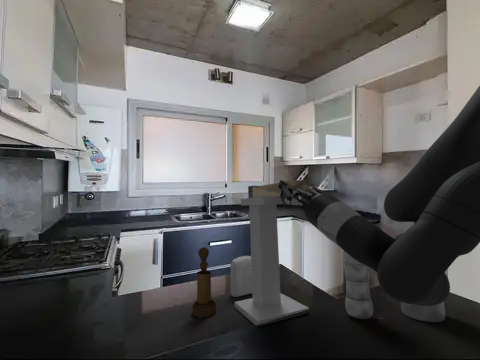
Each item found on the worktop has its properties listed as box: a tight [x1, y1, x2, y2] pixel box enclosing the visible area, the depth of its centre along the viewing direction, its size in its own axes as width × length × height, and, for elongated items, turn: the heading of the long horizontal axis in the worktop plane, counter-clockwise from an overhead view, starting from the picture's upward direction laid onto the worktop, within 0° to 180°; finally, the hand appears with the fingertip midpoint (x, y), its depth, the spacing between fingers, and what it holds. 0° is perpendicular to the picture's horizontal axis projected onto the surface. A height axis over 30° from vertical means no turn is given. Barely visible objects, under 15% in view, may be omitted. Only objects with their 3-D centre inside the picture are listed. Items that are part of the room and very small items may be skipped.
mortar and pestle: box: [192, 247, 217, 318], centre depth 71 cm, size 7×6×18 cm
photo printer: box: [230, 255, 252, 298], centre depth 85 cm, size 10×4×12 cm, turn 124°
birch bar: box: [247, 179, 308, 198], centre depth 70 cm, size 4×23×4 cm, turn 25°
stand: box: [234, 197, 310, 326], centre depth 72 cm, size 16×14×32 cm
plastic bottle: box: [341, 251, 374, 320], centre depth 65 cm, size 6×7×20 cm
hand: (287, 183), depth 64 cm, fingers closed on birch bar, 4 cm apart
